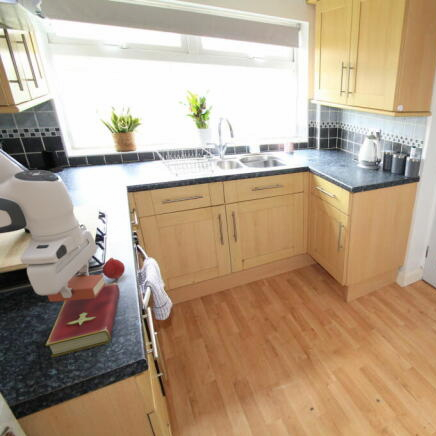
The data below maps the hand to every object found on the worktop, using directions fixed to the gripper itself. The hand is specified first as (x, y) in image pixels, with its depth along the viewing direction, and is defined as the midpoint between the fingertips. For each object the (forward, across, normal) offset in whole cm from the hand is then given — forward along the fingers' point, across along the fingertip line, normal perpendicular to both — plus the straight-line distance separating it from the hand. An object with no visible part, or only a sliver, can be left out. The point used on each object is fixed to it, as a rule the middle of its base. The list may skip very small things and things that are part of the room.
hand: (77, 287), depth 81 cm
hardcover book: (+12, 0, 0) cm, 12 cm away
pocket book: (+2, 0, 0) cm, 2 cm away
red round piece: (+12, -20, -1) cm, 23 cm away
